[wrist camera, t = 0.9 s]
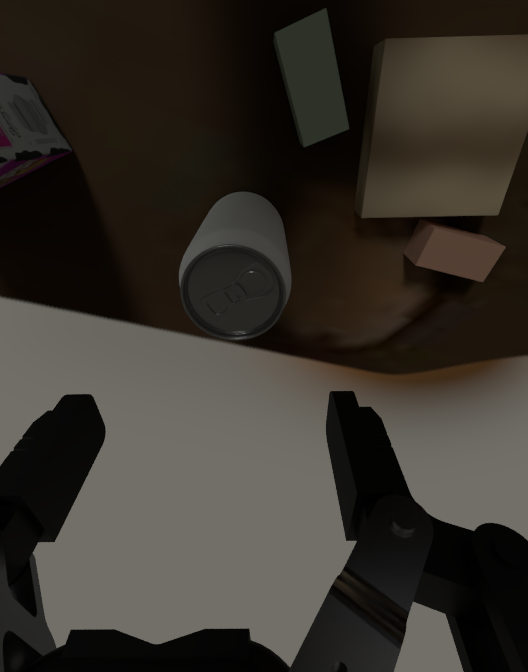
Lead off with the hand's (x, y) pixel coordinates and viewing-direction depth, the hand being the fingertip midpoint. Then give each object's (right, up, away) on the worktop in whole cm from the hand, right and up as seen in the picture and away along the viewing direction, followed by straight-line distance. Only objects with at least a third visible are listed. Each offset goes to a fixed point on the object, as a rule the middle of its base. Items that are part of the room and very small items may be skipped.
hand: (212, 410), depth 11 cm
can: (0, +11, +16) cm, 20 cm away
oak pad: (+14, +17, +13) cm, 25 cm away
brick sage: (+5, +19, +11) cm, 23 cm away
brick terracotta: (+17, +10, +17) cm, 26 cm away
